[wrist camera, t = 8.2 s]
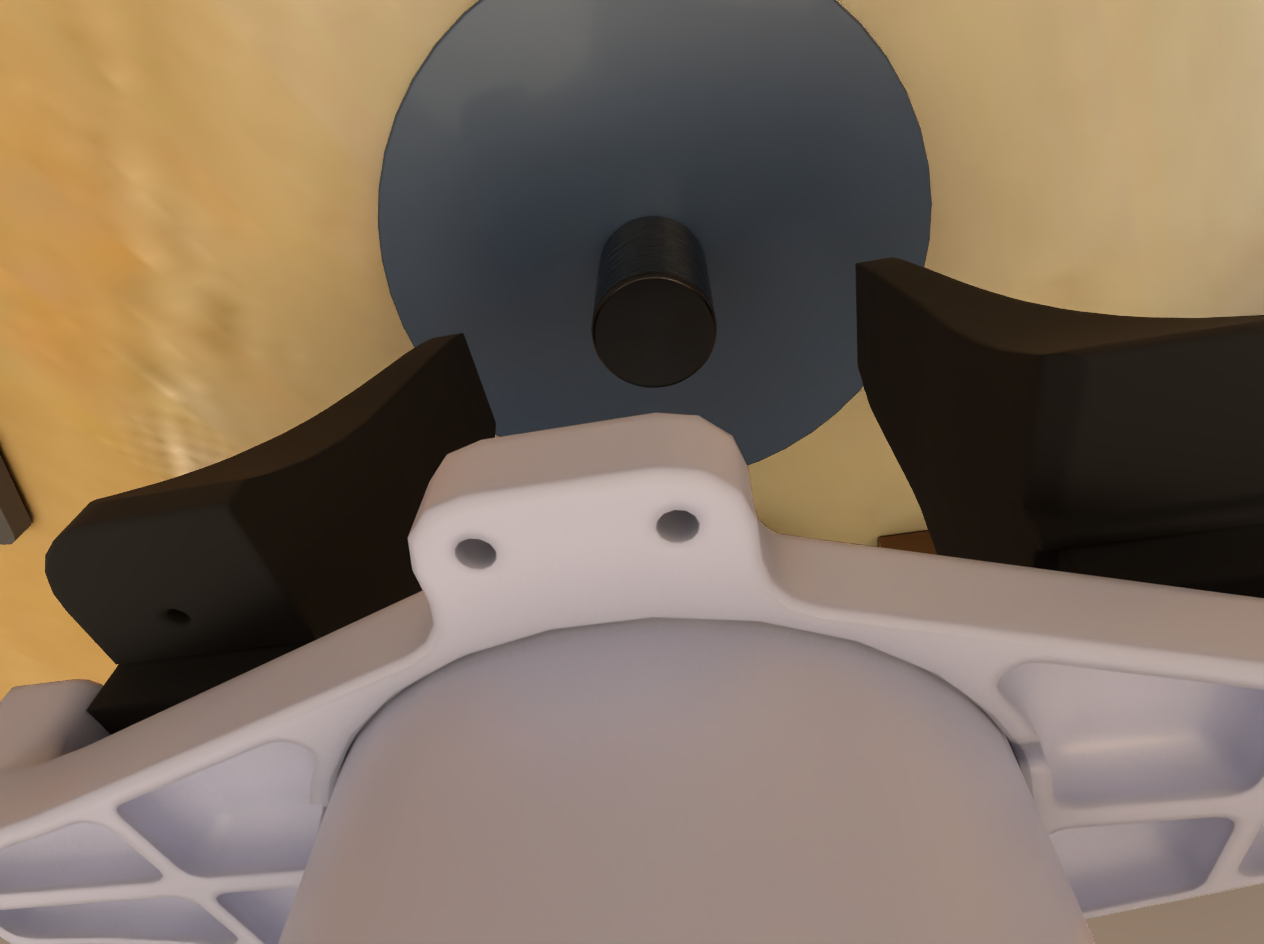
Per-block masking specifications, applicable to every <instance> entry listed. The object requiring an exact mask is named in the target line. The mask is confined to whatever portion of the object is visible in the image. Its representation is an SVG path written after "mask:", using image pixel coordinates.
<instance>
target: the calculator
mask: <svg viewBox="0 0 1264 944" xmlns="http://www.w3.org/2000/svg"><path fill="white" fill-rule="evenodd" d="M30 525H31V521H30V517H29V515H28V513H27V511H26V509H25V507H24V505H23V503H22V500H21V498H20V496H19V494H18V492H17V490H16V488H15V485H14V483H13V481H12V479H11V477H10V475H9V473H8V470H7V468H6V466H5V464H4V462H3V460H2V458H1V455H0V544H3V545H4V544H12V543H13V542H14V541H15V540H16V539H17V538H18V537H19V536H20V535H21V534H22V533H23V532H24V531H25V530H26V529H27V528H28V527H29V526H30Z"/></svg>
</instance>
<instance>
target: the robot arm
mask: <svg viewBox="0 0 1264 944" xmlns="http://www.w3.org/2000/svg"><path fill="white" fill-rule="evenodd" d="M855 270H856V317H857V365H858V369H859V373H860V376H861V379H862V382H863V386H864V389H865V392H866V395H867V398H868V401H869V404H870V407H871V409H872V411H873V413H874V415H875V417H876V419H877V421H878V423H879V425H880V427H881V429H882V431H883V433H884V435H885V437H886V439H887V441H888V443H889V445H890V447H891V449H892V451H893V453H894V455H895V457H896V459H897V461H898V463H899V465H900V466H901V468H902V470H903V472H904V474H905V476H906V478H907V480H908V482H909V484H910V486H911V488H912V490H913V492H914V494H915V497H916V499H917V501H918V503H919V506H920V508H921V510H922V513H923V516H924V519H925V522H926V525H927V527H928V530H929V533H930V536H931V539H932V542H933V544H934V547H935V550H936V553H937V555H934V554H927V553H919V552H912V551H904V550H897V549H889V548H881V547H874V546H866V545H859V544H851V543H844V542H836V541H829V540H821V539H814V538H806V537H799V536H791V535H784V534H778V533H775V532H774V531H772V530H770V529H769V528H767V527H766V526H764V525H763V524H762V523H761V521H760V520H759V518H758V517H757V515H756V511H755V506H754V500H753V494H752V488H751V483H750V477H749V471H748V466H747V464H746V462H745V460H744V458H743V456H742V454H741V452H740V450H739V448H738V446H737V444H736V442H735V440H734V438H733V436H732V435H730V434H729V433H727V432H725V431H724V430H722V429H720V428H719V427H717V426H715V425H714V424H712V423H710V422H709V421H707V420H705V419H704V418H702V417H700V416H699V415H684V414H669V413H650V414H643V415H637V416H630V417H624V418H618V419H611V420H605V421H598V422H592V423H586V424H579V425H573V426H566V427H560V428H554V429H547V430H541V431H535V432H528V433H522V434H515V435H509V436H503V437H496V438H495V431H496V421H495V419H494V416H493V413H492V410H491V408H490V405H489V402H488V399H487V397H486V394H485V391H484V388H483V385H482V383H481V380H480V377H479V374H478V372H477V369H476V366H475V363H474V361H473V358H472V355H471V352H470V350H469V347H468V344H467V341H466V339H465V336H464V333H458V334H453V335H447V336H442V337H436V338H432V339H430V340H427V341H425V342H423V343H422V344H420V345H418V346H417V347H415V348H414V349H412V350H411V351H409V352H408V353H406V354H405V355H403V356H402V357H401V358H399V359H398V360H396V361H395V362H394V363H392V364H391V365H389V366H388V367H387V368H385V369H384V370H383V371H381V372H380V373H378V374H377V375H376V376H374V377H373V378H372V379H370V380H369V381H367V382H366V383H365V384H363V385H362V386H360V387H359V388H357V389H356V390H354V391H353V392H351V393H350V394H348V395H347V396H345V397H344V398H342V399H341V400H340V401H338V402H337V403H335V404H334V405H332V406H331V407H329V408H328V409H326V410H324V411H323V412H321V413H319V414H318V415H316V416H314V417H313V418H311V419H309V420H308V421H306V422H304V423H302V424H300V425H298V426H296V427H295V428H293V429H291V430H289V431H287V432H285V433H283V434H281V435H279V436H277V437H275V438H273V439H271V440H269V441H267V442H264V443H262V444H260V445H258V446H255V447H253V448H251V449H249V450H247V451H244V452H242V453H240V454H238V455H235V456H233V457H231V458H228V459H226V460H223V461H220V462H218V463H215V464H213V465H210V466H207V467H205V468H202V469H199V470H196V471H193V472H190V473H187V474H184V475H182V476H179V477H176V478H172V479H169V480H166V481H163V482H160V483H156V484H152V485H149V486H145V487H141V488H138V489H134V490H131V491H127V492H123V493H120V494H116V495H113V496H109V497H105V498H100V499H96V500H94V501H92V502H90V503H89V504H88V505H87V506H86V507H85V508H84V509H83V510H82V511H81V512H80V513H79V514H78V516H77V517H76V518H75V519H74V520H73V521H72V522H71V523H70V524H69V525H68V526H67V527H66V528H65V529H64V530H63V531H62V532H61V533H60V534H59V535H58V537H57V538H56V539H55V540H54V541H53V543H52V544H51V546H50V548H49V550H48V552H47V553H46V556H45V573H46V576H47V579H48V581H49V584H50V587H51V589H52V591H53V594H54V595H55V596H56V598H57V599H58V600H59V602H60V603H61V604H62V606H63V607H64V608H65V610H66V611H67V612H68V613H69V614H70V615H71V616H72V617H73V618H74V620H75V621H76V622H77V623H78V624H79V625H80V626H81V627H82V628H83V629H84V630H85V631H86V632H87V633H88V635H89V636H90V637H91V638H92V639H93V640H94V641H95V642H96V643H97V644H98V645H99V646H100V647H101V649H102V650H103V651H104V652H105V653H106V654H107V655H108V656H109V657H110V658H111V659H112V660H113V661H114V662H115V664H119V665H118V666H117V668H116V669H115V671H114V672H113V673H112V675H111V676H110V678H109V679H108V680H107V682H106V683H105V685H104V686H103V685H102V684H99V683H97V682H94V681H91V680H84V679H73V680H65V681H57V682H48V683H40V684H32V685H24V686H17V687H13V688H11V690H10V691H9V692H8V693H7V695H6V696H5V697H4V698H3V699H2V701H1V702H0V937H2V938H3V939H5V940H6V941H8V942H10V943H11V944H1096V943H1095V941H1094V939H1093V936H1092V934H1091V932H1090V929H1089V927H1088V925H1087V922H1086V920H1085V919H1089V918H1093V917H1098V916H1104V915H1109V914H1113V913H1118V912H1123V911H1128V910H1133V909H1138V908H1143V907H1148V906H1153V905H1158V904H1163V903H1168V902H1173V901H1178V900H1183V899H1188V898H1193V897H1198V896H1203V895H1208V894H1213V893H1218V892H1223V891H1228V890H1232V889H1237V888H1242V887H1247V886H1252V885H1257V884H1262V883H1264V315H1257V316H1235V317H1214V318H1153V317H1132V316H1117V315H1108V314H1098V313H1089V312H1080V311H1073V310H1067V309H1060V308H1055V307H1050V306H1045V305H1040V304H1035V303H1030V302H1025V301H1021V300H1017V299H1013V298H1010V297H1006V296H1003V295H1000V294H996V293H993V292H990V291H986V290H983V289H980V288H977V287H974V286H971V285H968V284H966V283H963V282H960V281H957V280H955V279H952V278H950V277H947V276H944V275H942V274H939V273H937V272H934V271H932V270H929V269H927V268H924V267H922V266H919V265H916V264H914V263H911V262H908V261H905V260H902V259H899V258H894V257H889V258H883V259H877V260H872V261H866V262H860V263H855Z"/></svg>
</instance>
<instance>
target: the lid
mask: <svg viewBox="0 0 1264 944" xmlns="http://www.w3.org/2000/svg"><path fill="white" fill-rule="evenodd" d="M931 207H932V201H931V188H930V174H929V165H928V160H927V155H926V151H925V146H924V142H923V137H922V133H921V128H920V126H919V123H918V121H917V118H916V115H915V113H914V110H913V107H912V105H911V102H910V99H909V97H908V94H907V92H906V90H905V88H904V86H903V84H902V83H901V81H900V79H899V77H898V76H897V74H896V72H895V70H894V68H893V67H892V65H891V63H890V61H889V60H888V58H887V56H886V55H885V54H884V52H883V51H882V50H881V48H880V47H879V46H878V45H877V43H876V42H875V41H874V40H873V38H872V37H871V36H870V34H869V33H868V32H867V31H866V29H865V28H864V27H863V25H862V24H861V23H860V22H859V21H858V20H857V19H856V18H854V17H853V16H852V15H851V14H850V13H849V12H848V11H847V10H846V9H845V8H844V7H843V6H842V5H840V4H839V3H838V2H837V1H836V0H479V1H478V2H476V3H475V4H474V5H473V6H472V7H470V8H469V9H468V10H467V11H465V12H464V13H463V14H462V15H461V16H460V18H459V19H458V20H457V21H456V22H455V23H454V24H453V25H452V26H451V27H450V29H449V30H448V31H447V32H446V33H445V34H444V35H443V36H442V37H441V39H440V40H439V41H438V42H437V43H436V44H435V46H434V47H433V49H432V50H431V52H430V53H429V55H428V56H427V58H426V59H425V61H424V62H423V64H422V65H421V67H420V68H419V70H418V71H417V73H416V74H415V76H414V77H413V79H412V81H411V83H410V85H409V87H408V90H407V92H406V94H405V96H404V98H403V100H402V102H401V104H400V107H399V109H398V111H397V113H396V115H395V119H394V122H393V125H392V129H391V132H390V135H389V138H388V142H387V145H386V148H385V152H384V158H383V164H382V171H381V177H380V183H379V197H378V230H379V239H380V247H381V256H382V262H383V266H384V270H385V274H386V278H387V282H388V286H389V290H390V294H391V297H392V299H393V302H394V304H395V307H396V310H397V312H398V315H399V317H400V320H401V322H402V325H403V327H404V329H405V331H406V333H407V334H408V336H409V338H410V340H411V342H412V344H413V346H414V347H417V346H418V345H420V344H422V343H423V342H425V341H427V340H430V339H432V338H436V337H442V336H447V335H453V334H458V333H464V336H465V339H466V341H467V344H468V347H469V350H470V352H471V355H472V358H473V361H474V363H475V366H476V369H477V372H478V374H479V377H480V380H481V383H482V385H483V388H484V391H485V394H486V397H487V399H488V402H489V405H490V408H491V410H492V413H493V416H494V419H495V421H496V431H495V434H496V435H497V436H499V437H503V436H509V435H515V434H522V433H528V432H535V431H541V430H547V429H554V428H560V427H566V426H573V425H579V424H586V423H592V422H598V421H605V420H611V419H618V418H624V417H630V416H637V415H643V414H650V413H669V414H684V415H699V416H700V417H702V418H704V419H705V420H707V421H709V422H710V423H712V424H714V425H715V426H717V427H719V428H720V429H722V430H724V431H725V432H727V433H729V434H730V435H732V436H733V438H734V440H735V442H736V444H737V446H738V448H739V450H740V452H741V454H742V456H743V458H744V460H745V462H746V464H747V465H750V464H752V463H755V462H758V461H760V460H762V459H765V458H767V457H769V456H771V455H773V454H775V453H777V452H779V451H781V450H783V449H786V448H787V447H789V446H791V445H792V444H794V443H795V442H797V441H799V440H800V439H802V438H804V437H805V436H807V435H808V434H810V433H812V432H813V431H814V430H816V429H817V428H818V427H819V426H821V425H822V424H823V423H825V422H826V421H827V420H828V419H830V418H831V417H832V416H834V415H835V414H836V413H837V412H838V411H839V410H840V409H841V408H842V407H843V406H844V405H845V404H846V403H847V402H848V401H849V400H851V399H852V398H853V397H854V396H855V395H856V394H857V393H858V392H859V391H860V389H861V388H862V387H863V382H862V379H861V376H860V373H859V369H858V365H857V317H856V270H855V263H860V262H866V261H872V260H877V259H883V258H889V257H894V258H899V259H902V260H905V261H908V262H911V263H914V264H916V265H919V266H922V267H924V265H925V260H926V255H927V250H928V245H929V239H930V223H931Z"/></svg>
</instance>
